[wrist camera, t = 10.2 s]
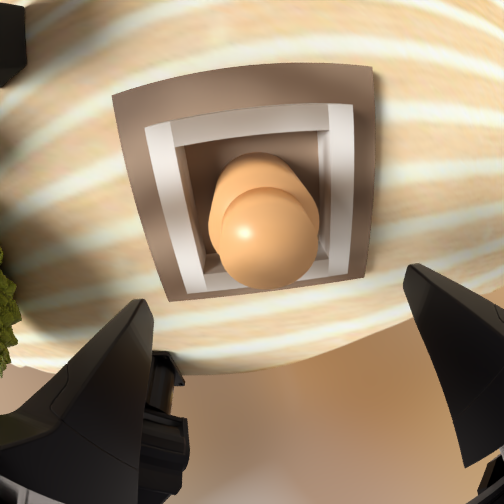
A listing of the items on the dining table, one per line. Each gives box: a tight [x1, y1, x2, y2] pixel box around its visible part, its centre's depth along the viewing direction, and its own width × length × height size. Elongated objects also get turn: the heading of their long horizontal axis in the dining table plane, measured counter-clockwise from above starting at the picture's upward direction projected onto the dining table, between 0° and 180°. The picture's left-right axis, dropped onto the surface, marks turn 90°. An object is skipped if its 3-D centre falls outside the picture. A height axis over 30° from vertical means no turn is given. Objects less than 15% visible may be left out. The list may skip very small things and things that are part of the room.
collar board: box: [112, 63, 375, 302], centre depth 16 cm, size 16×16×4 cm
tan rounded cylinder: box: [208, 152, 319, 290], centre depth 14 cm, size 5×5×7 cm
